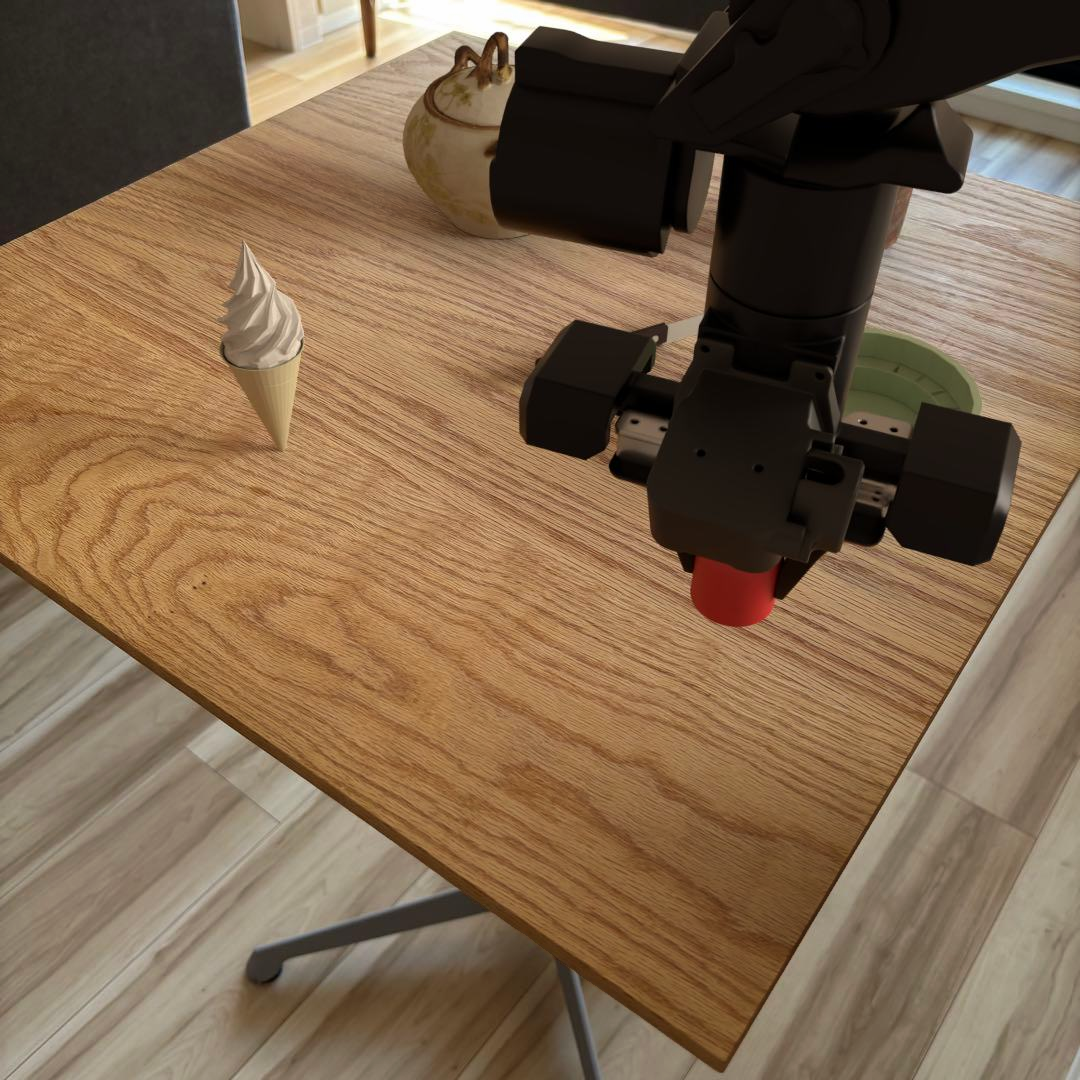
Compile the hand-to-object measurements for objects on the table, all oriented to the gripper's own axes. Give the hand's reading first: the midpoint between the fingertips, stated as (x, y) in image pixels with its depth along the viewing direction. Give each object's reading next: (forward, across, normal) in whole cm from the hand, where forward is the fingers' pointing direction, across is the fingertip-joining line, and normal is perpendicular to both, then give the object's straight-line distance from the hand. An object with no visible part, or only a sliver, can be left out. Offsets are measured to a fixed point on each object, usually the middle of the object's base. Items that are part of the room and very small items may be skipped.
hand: (734, 579), depth 51 cm
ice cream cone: (+11, -32, +10) cm, 35 cm away
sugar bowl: (+11, -31, +43) cm, 54 cm away
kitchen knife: (+11, -13, +30) cm, 35 cm away
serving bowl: (+11, +3, +26) cm, 28 cm away
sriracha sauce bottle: (+1, 0, 0) cm, 1 cm away
